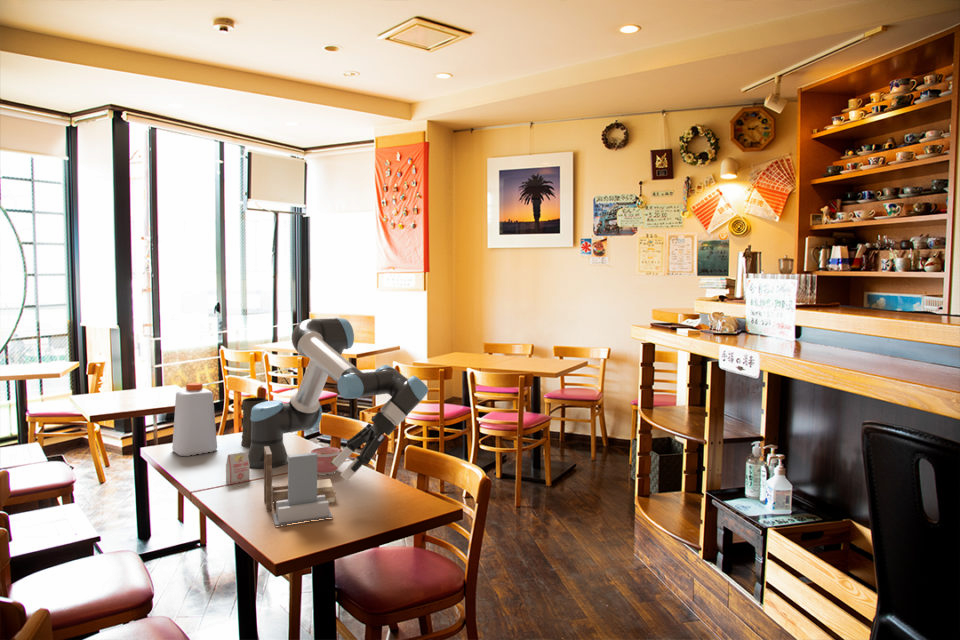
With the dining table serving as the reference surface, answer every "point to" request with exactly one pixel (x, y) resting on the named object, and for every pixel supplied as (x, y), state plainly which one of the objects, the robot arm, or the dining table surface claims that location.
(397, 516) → the dining table surface
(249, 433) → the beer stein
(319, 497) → the slot stand
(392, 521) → the dining table surface
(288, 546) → the dining table surface
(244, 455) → the tea bag
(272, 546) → the dining table surface
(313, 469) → the slate board
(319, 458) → the container
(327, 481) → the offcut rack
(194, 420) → the plastic bottle
